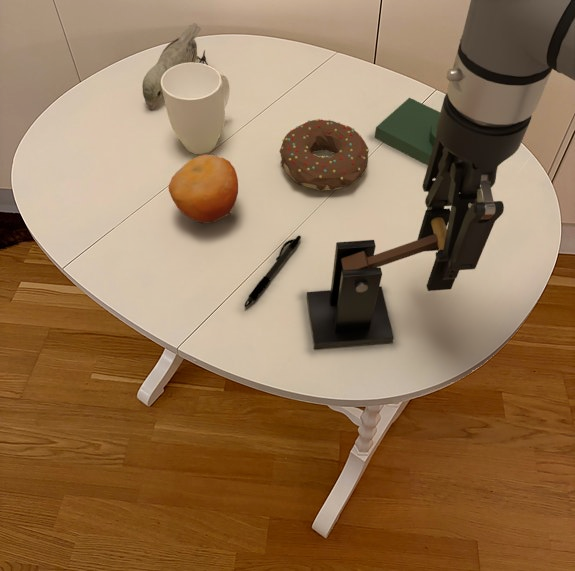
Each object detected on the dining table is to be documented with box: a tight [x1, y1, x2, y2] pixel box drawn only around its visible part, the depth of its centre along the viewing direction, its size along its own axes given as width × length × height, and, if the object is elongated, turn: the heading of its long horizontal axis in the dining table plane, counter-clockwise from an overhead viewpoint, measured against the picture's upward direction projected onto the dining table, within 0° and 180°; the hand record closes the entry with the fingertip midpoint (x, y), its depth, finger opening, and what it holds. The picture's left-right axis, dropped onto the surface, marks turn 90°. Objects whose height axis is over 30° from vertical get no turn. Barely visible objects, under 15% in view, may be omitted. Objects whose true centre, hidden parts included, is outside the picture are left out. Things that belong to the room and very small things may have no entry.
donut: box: [278, 118, 370, 192], centre depth 92 cm, size 14×14×5 cm
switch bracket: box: [306, 239, 395, 350], centre depth 72 cm, size 10×8×13 cm
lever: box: [341, 217, 447, 270], centre depth 67 cm, size 12×5×2 cm, turn 96°
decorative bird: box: [141, 23, 209, 110], centre depth 103 cm, size 5×16×8 cm, turn 153°
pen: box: [243, 235, 302, 308], centre depth 81 cm, size 14×2×1 cm, turn 149°
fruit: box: [168, 154, 239, 225], centre depth 84 cm, size 10×9×10 cm
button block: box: [373, 97, 441, 166], centre depth 96 cm, size 14×10×4 cm
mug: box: [161, 62, 231, 155], centre depth 93 cm, size 12×9×12 cm
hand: (432, 267), depth 70 cm, fingers closed on lever, 5 cm apart
